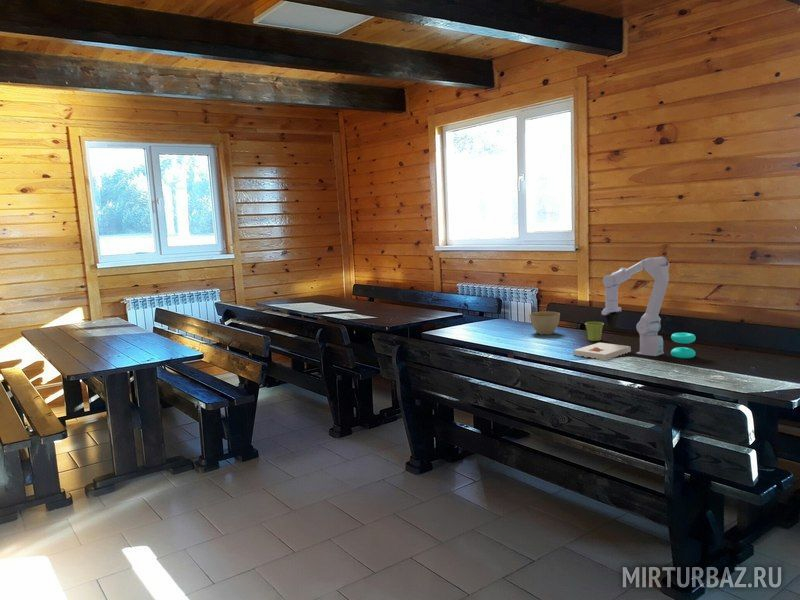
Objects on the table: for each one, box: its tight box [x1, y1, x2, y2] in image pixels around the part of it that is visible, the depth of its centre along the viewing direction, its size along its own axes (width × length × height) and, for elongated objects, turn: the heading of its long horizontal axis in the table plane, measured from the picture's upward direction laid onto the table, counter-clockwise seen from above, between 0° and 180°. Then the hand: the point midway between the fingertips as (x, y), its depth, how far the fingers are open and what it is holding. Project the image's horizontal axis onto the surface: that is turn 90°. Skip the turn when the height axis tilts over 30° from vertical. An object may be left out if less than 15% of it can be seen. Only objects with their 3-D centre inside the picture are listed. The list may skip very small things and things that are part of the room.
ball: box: [592, 347, 601, 352], centre depth 286 cm, size 4×4×4 cm
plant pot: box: [584, 321, 605, 342], centre depth 322 cm, size 9×9×9 cm
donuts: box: [670, 332, 697, 359], centre depth 278 cm, size 10×10×10 cm
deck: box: [573, 342, 632, 361], centre depth 290 cm, size 16×22×2 cm
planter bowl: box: [529, 311, 561, 335], centre depth 345 cm, size 16×16×11 cm
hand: (611, 328), depth 302 cm, fingers closed
